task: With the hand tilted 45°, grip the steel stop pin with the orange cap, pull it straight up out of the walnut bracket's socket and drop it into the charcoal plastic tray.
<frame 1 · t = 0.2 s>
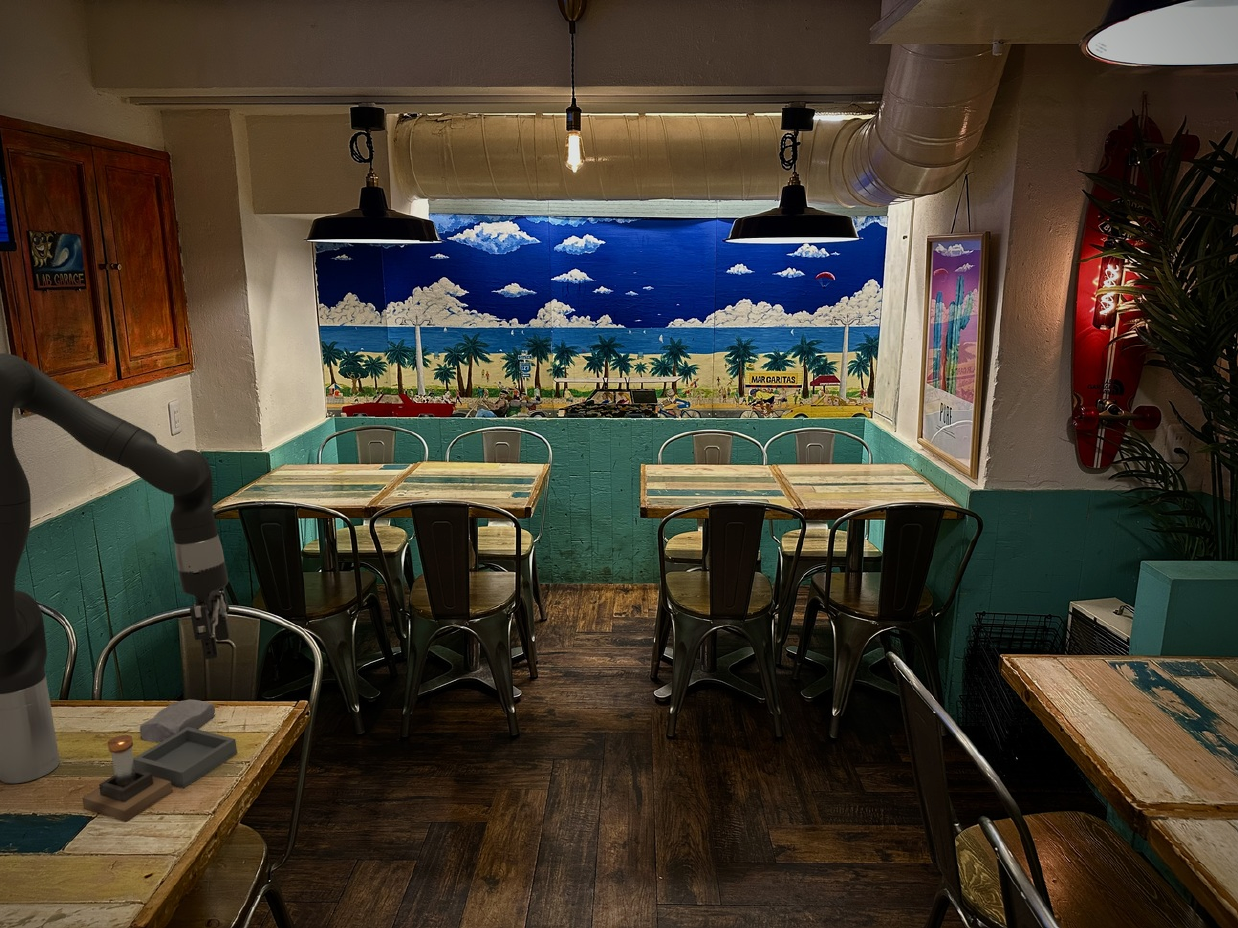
hand: (217, 648, 157), 21 cm above the table, tool pointing down, fingers open, 8 cm apart
stop pin: (127, 789, 149), point 2 cm above the table, touching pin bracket
stone block: (176, 729, 173), on the table
tray: (186, 763, 160), on the table
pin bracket: (128, 799, 149), on the table
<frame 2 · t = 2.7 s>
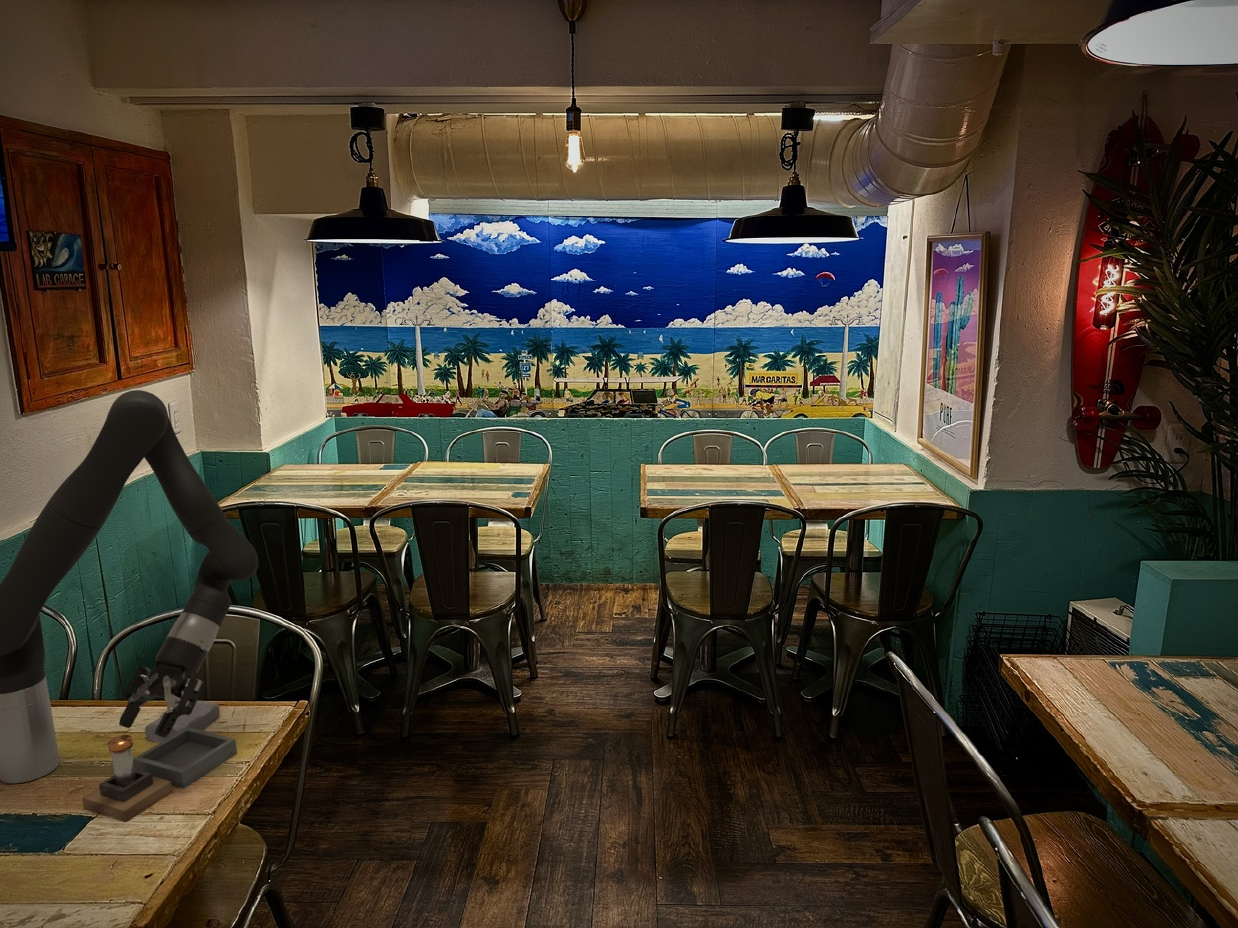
hand: (141, 731, 150), 11 cm above the table, tool tilted 45°, fingers open, 8 cm apart
stone block: (182, 729, 173), on the table
everything else where it was.
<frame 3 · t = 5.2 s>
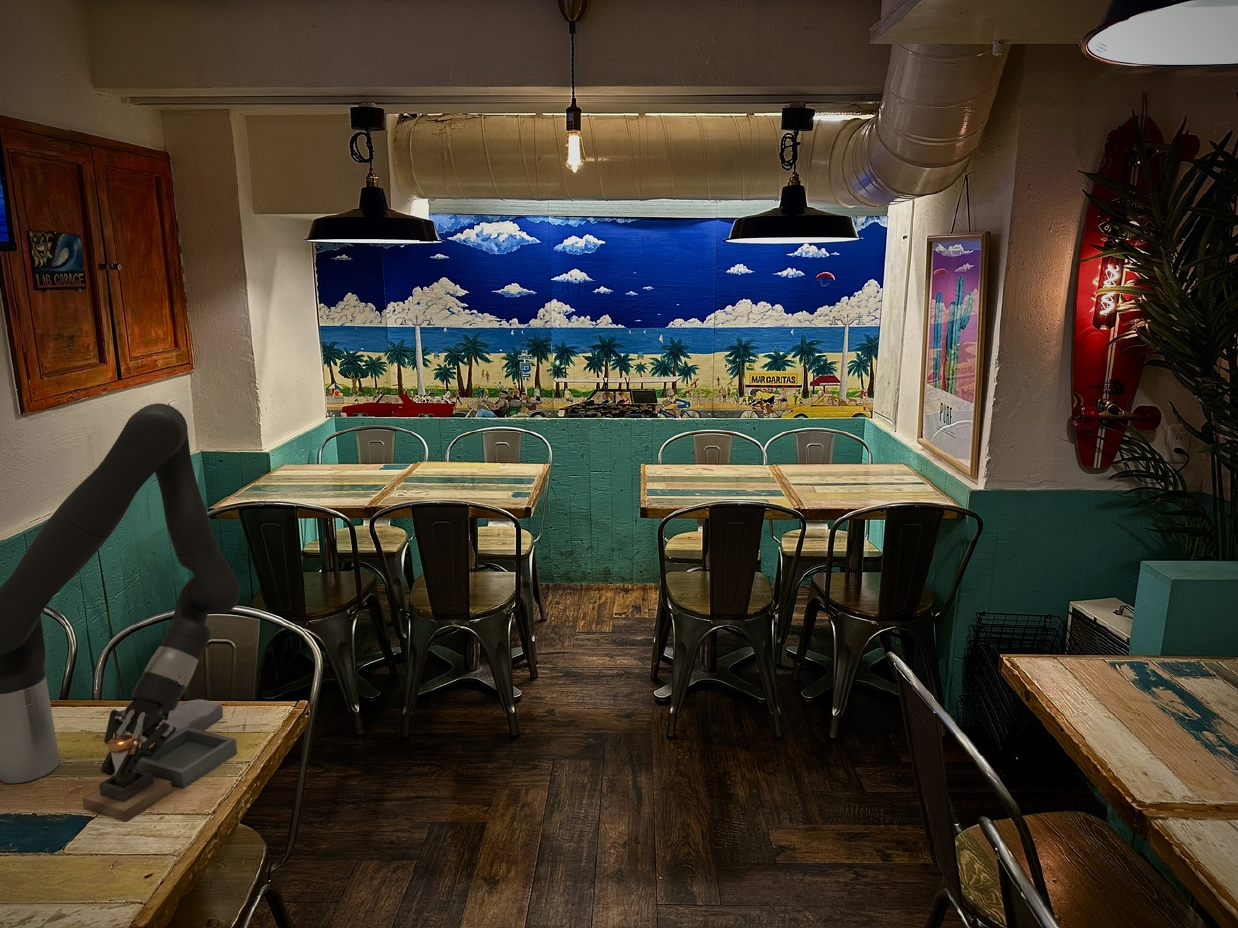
hand: (113, 775, 146), 6 cm above the table, tool tilted 45°, fingers closed on stop pin, 3 cm apart
stop pin: (127, 789, 149), point 2 cm above the table, touching gripper, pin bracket
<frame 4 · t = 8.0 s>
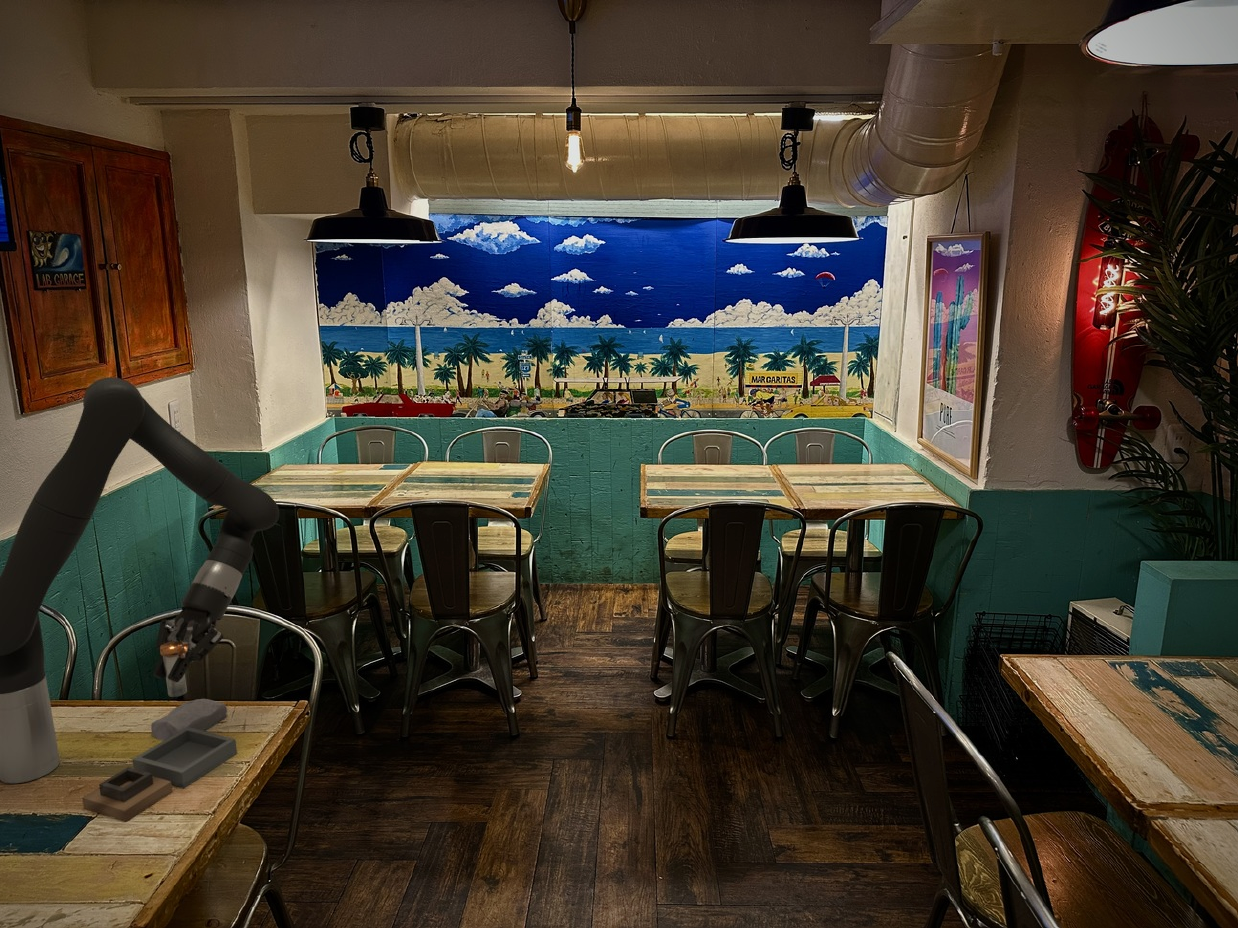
hand: (165, 678, 154), 18 cm above the table, tool tilted 45°, fingers closed on stop pin, 3 cm apart
stop pin: (177, 692, 157), point 14 cm above the table, touching gripper
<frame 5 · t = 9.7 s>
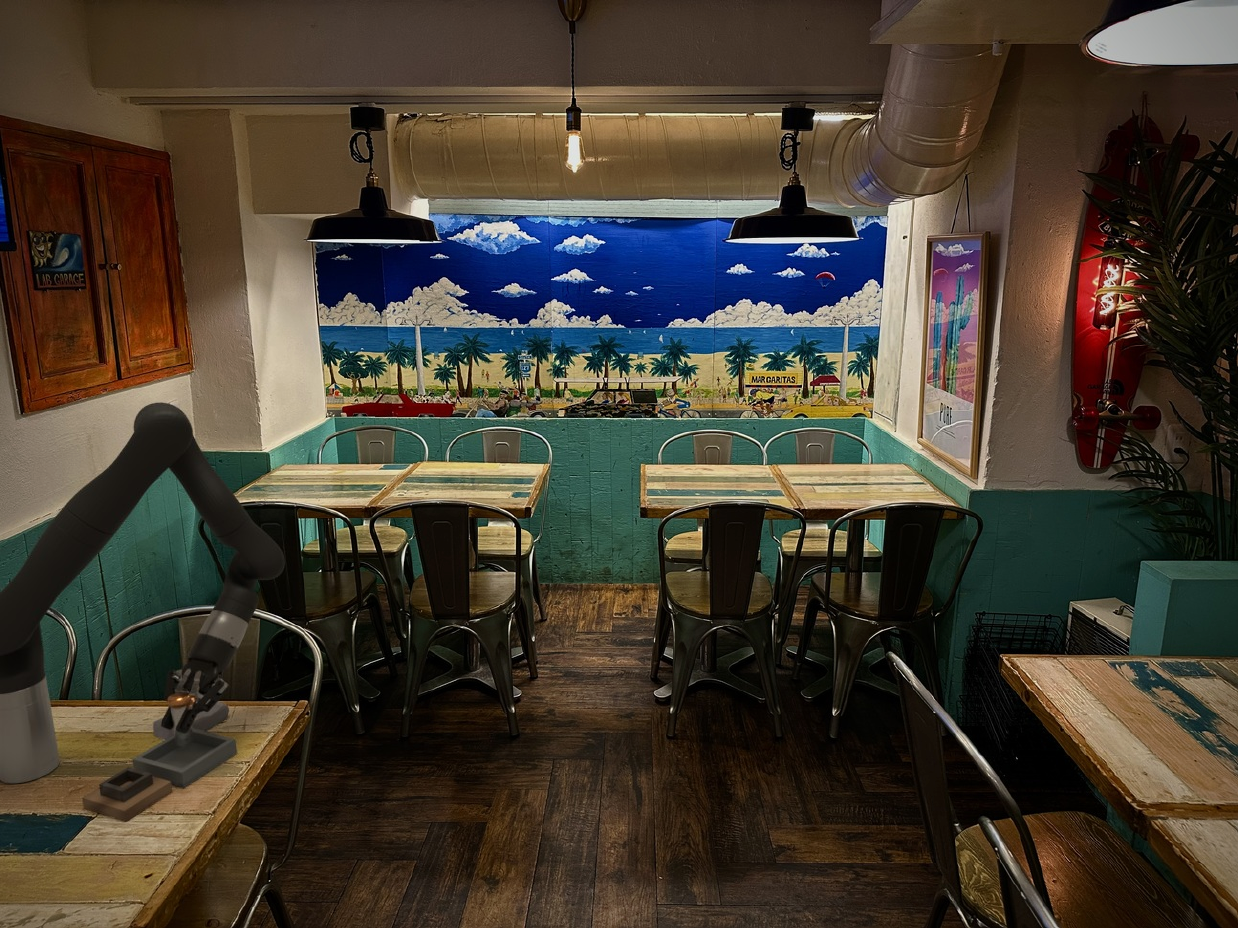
hand: (173, 729, 156), 8 cm above the table, tool tilted 45°, fingers closed on stop pin, 3 cm apart
stop pin: (185, 742, 159), point 4 cm above the table, touching gripper
when the fingers open (7 cm above the table, at t = 10.7 s): stop pin drops 2 cm, resting on tray.
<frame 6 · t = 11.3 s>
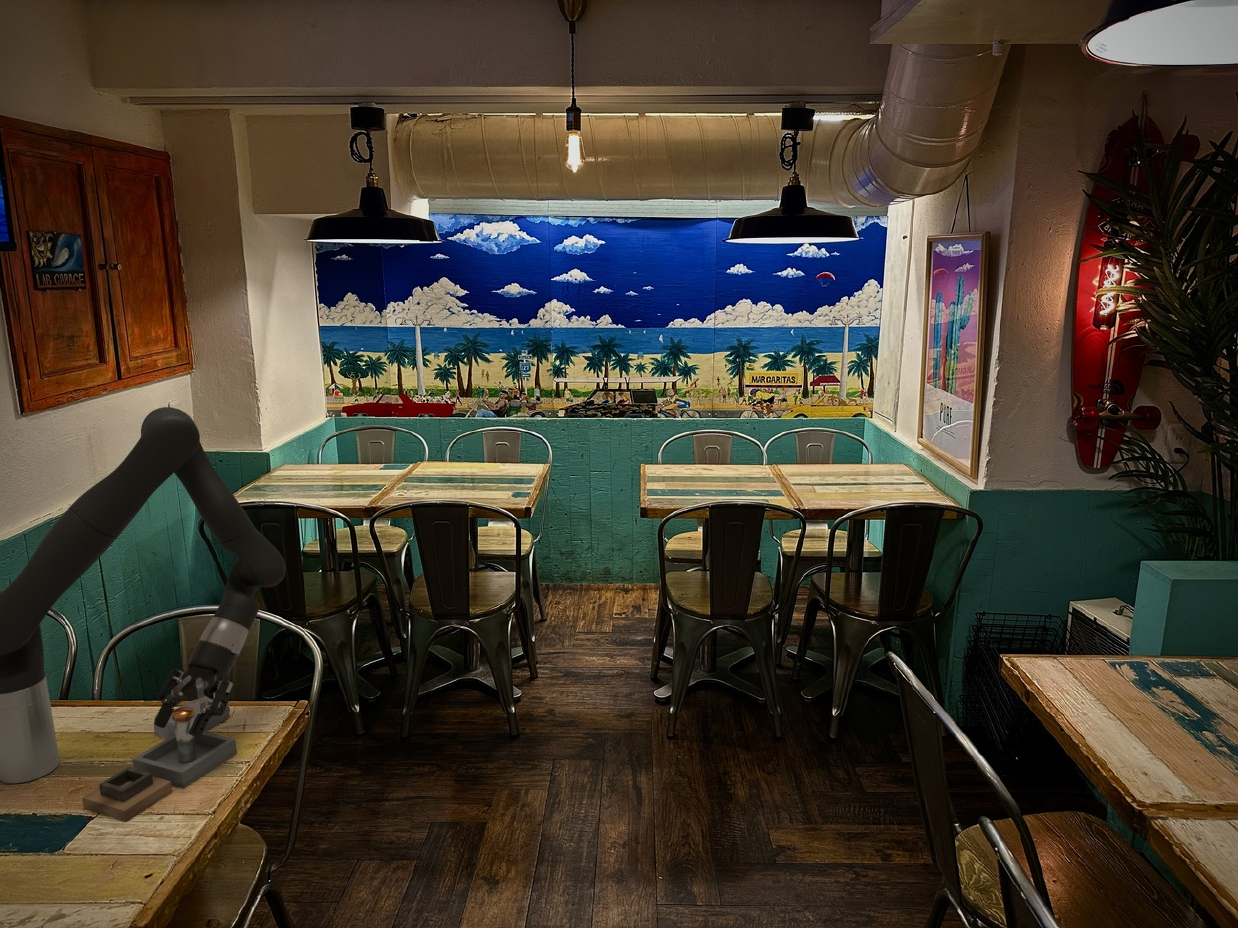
hand: (175, 731, 157), 7 cm above the table, tool tilted 45°, fingers open, 8 cm apart
stop pin: (187, 758, 160), point 1 cm above the table, touching tray
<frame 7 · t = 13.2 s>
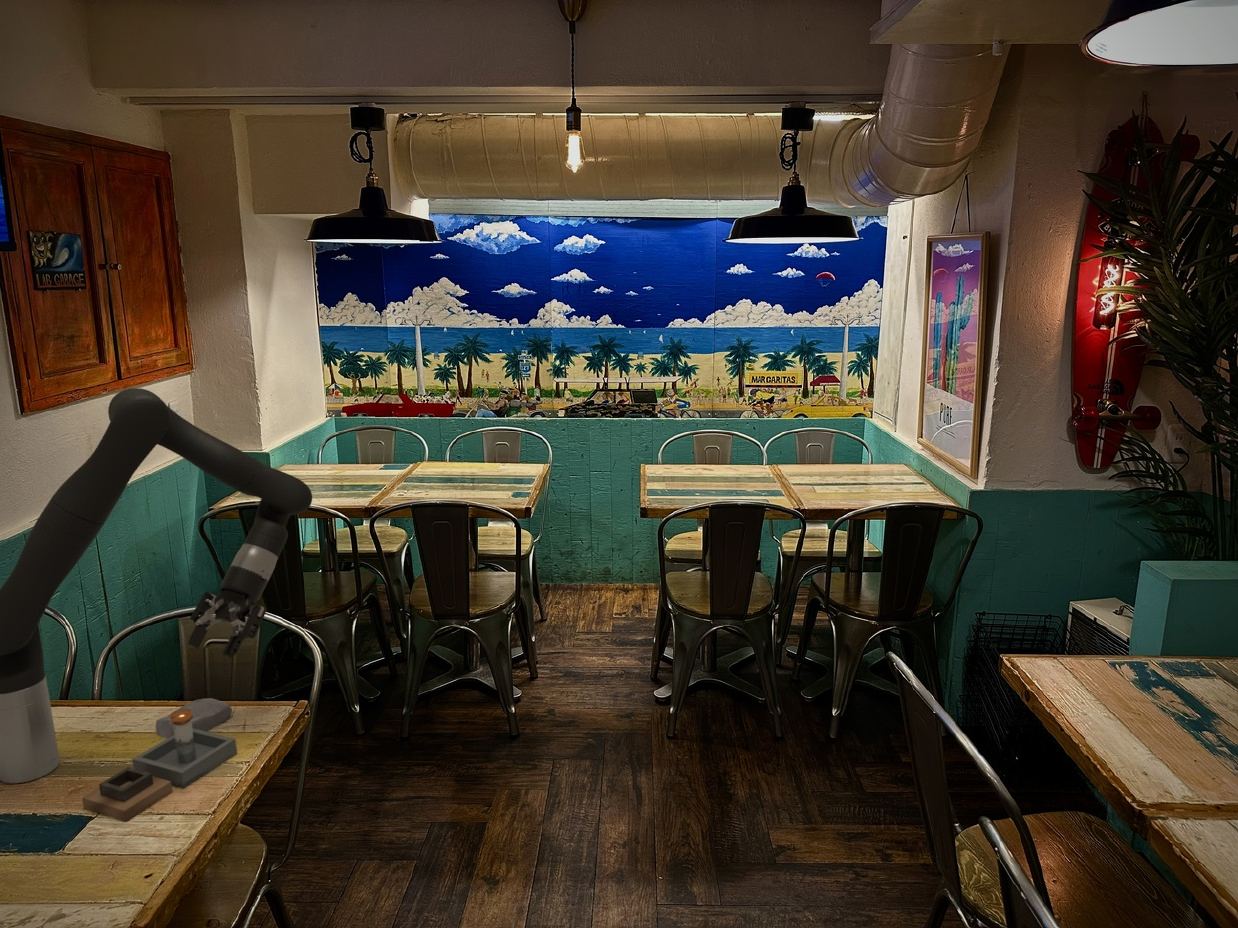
hand: (209, 651, 163), 19 cm above the table, tool tilted 40°, fingers open, 8 cm apart
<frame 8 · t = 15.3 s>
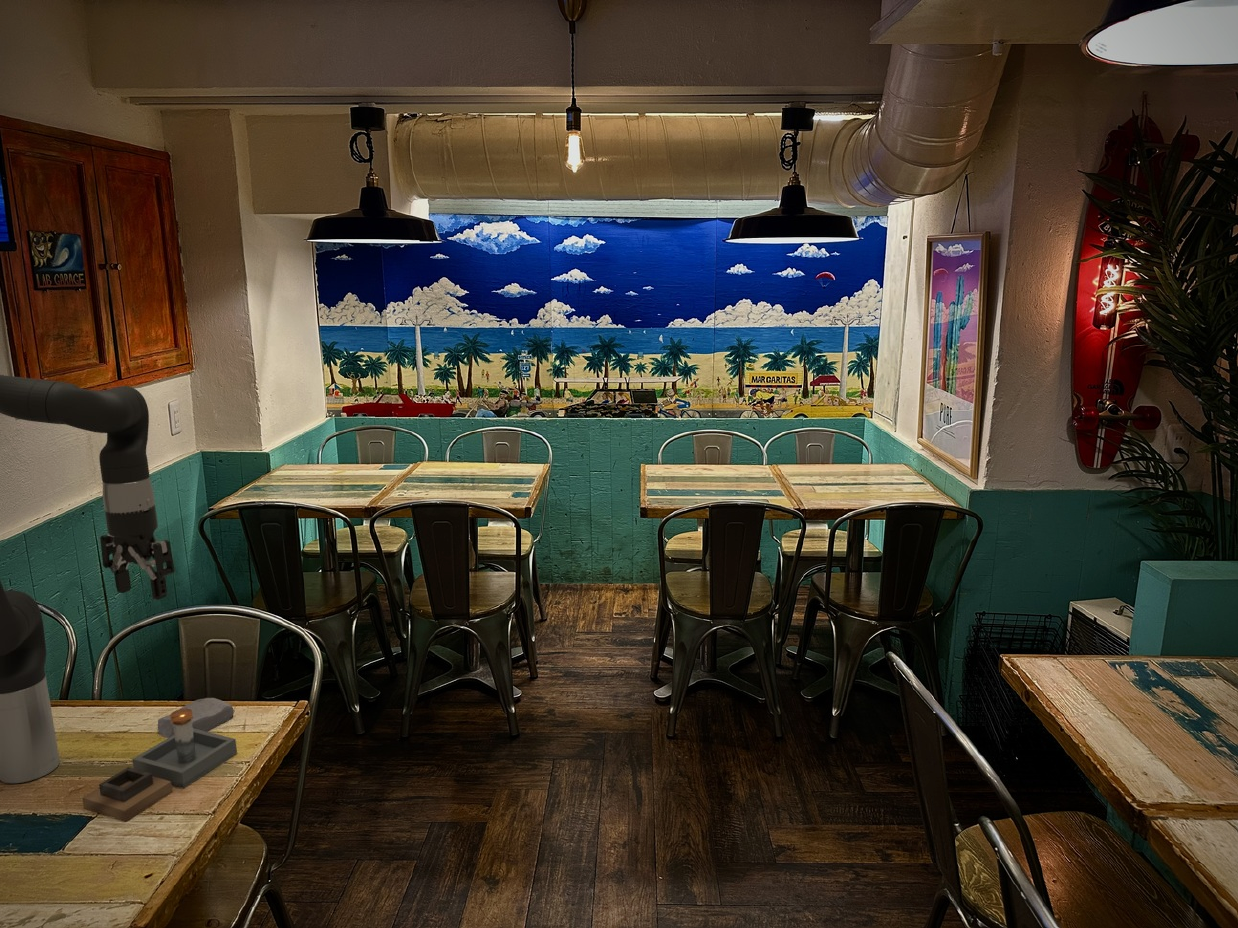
hand: (142, 594, 152), 33 cm above the table, tool pointing down, fingers open, 8 cm apart
at the end: stop pin inside the target area on the tray (0.2 cm from its centre), point 0.8 cm above the tray's base; the gripper is holding nothing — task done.
